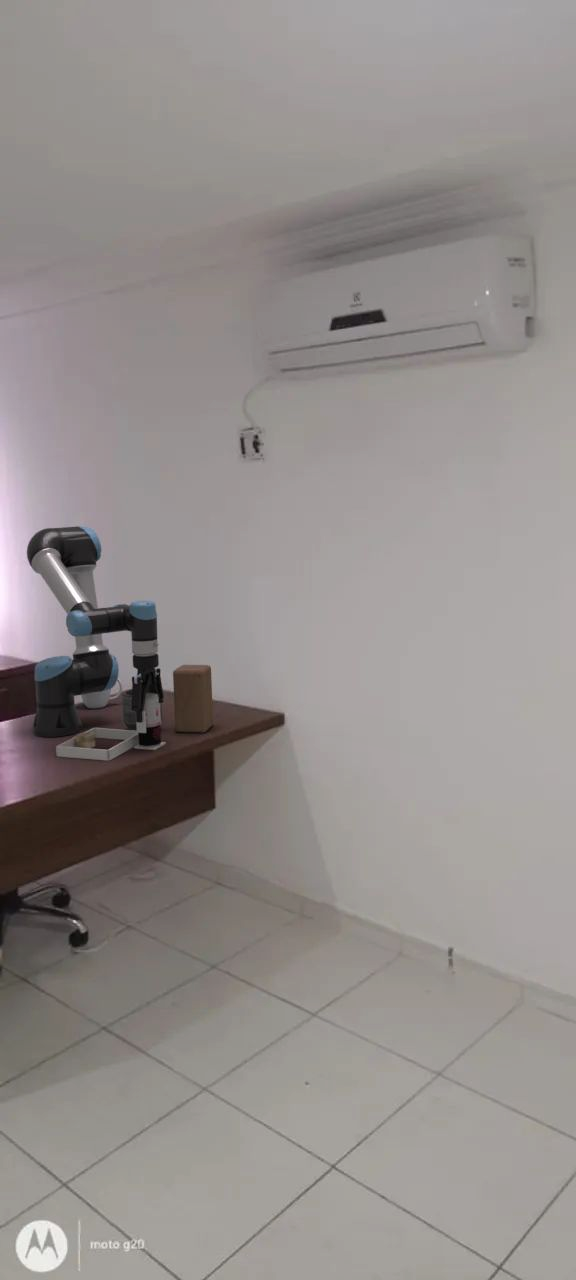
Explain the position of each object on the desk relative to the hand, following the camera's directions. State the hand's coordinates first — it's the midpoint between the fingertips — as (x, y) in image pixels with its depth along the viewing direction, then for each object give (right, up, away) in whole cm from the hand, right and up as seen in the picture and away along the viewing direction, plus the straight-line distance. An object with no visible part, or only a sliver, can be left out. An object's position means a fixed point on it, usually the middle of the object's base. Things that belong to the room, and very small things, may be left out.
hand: (149, 728), depth 276 cm
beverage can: (0, -5, +1) cm, 5 cm away
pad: (0, -5, +1) cm, 5 cm away
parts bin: (-14, -6, 0) cm, 15 cm away
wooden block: (+12, -2, +19) cm, 22 cm away
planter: (-5, -3, +18) cm, 19 cm away
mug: (-25, +3, +52) cm, 58 cm away
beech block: (-19, -6, +1) cm, 20 cm away
